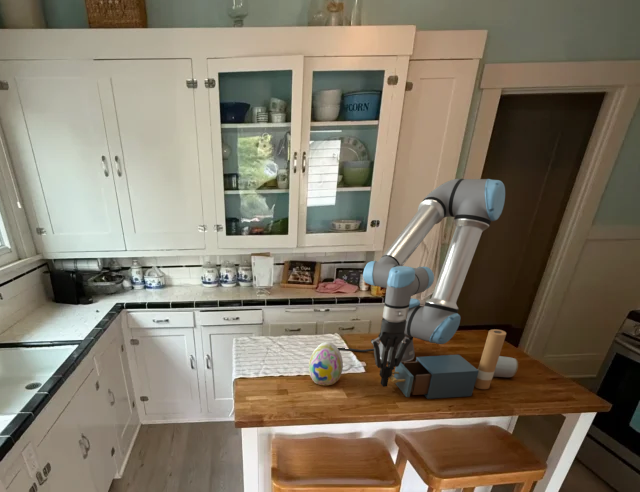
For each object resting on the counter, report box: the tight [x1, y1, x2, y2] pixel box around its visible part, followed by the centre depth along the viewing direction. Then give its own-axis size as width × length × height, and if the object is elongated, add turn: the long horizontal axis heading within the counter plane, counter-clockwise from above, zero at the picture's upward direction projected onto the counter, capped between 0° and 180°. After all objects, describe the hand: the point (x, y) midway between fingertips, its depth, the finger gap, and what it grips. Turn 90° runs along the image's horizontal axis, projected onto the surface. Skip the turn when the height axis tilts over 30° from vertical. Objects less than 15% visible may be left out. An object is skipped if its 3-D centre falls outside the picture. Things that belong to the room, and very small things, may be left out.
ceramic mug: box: [493, 355, 519, 378], centre depth 157 cm, size 11×8×8 cm
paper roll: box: [474, 328, 507, 390], centre depth 146 cm, size 5×5×20 cm
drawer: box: [389, 360, 432, 398], centre depth 148 cm, size 19×12×8 cm, turn 95°
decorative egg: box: [308, 341, 344, 387], centre depth 154 cm, size 12×12×15 cm
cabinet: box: [415, 354, 479, 400], centre depth 148 cm, size 16×14×10 cm
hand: (383, 384), depth 148 cm, fingers closed
